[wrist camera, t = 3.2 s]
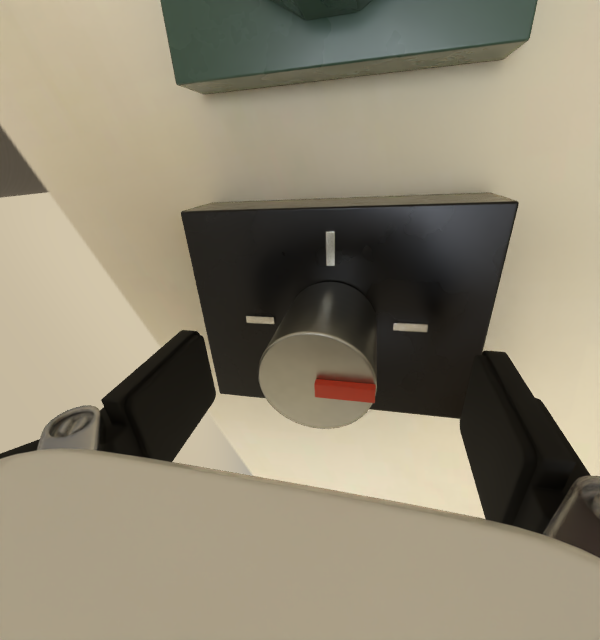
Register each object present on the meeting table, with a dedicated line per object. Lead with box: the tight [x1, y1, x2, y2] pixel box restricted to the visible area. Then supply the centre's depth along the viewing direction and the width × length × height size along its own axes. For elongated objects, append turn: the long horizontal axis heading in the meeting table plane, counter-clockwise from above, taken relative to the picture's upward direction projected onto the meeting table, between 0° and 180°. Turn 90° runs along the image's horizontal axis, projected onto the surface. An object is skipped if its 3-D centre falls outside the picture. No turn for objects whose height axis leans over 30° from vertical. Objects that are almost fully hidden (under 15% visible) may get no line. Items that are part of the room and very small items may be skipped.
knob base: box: [181, 193, 518, 419], centre depth 16 cm, size 13×10×3 cm
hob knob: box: [258, 282, 377, 429], centre depth 12 cm, size 4×4×5 cm
